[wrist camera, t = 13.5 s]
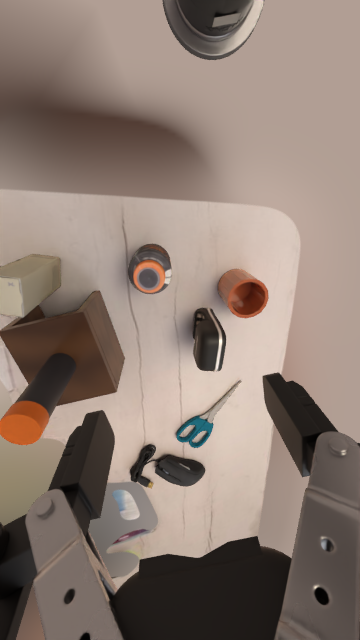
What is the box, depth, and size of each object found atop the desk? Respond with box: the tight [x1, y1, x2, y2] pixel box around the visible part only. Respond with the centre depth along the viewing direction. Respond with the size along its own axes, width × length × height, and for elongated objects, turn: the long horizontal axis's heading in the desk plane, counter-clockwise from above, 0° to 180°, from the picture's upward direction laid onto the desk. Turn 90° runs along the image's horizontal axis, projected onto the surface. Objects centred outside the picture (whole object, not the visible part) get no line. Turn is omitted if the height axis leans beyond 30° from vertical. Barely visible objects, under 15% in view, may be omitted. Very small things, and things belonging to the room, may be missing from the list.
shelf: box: [0, 291, 125, 406], centre depth 41 cm, size 14×12×10 cm
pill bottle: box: [128, 244, 172, 294], centre depth 36 cm, size 6×6×11 cm
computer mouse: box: [130, 445, 205, 488], centre depth 60 cm, size 12×18×4 cm
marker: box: [0, 353, 76, 445], centre depth 31 cm, size 4×4×12 cm
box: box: [0, 254, 61, 318], centre depth 35 cm, size 5×4×13 cm
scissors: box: [177, 380, 241, 448], centre depth 55 cm, size 7×1×20 cm
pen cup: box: [218, 269, 268, 318], centre depth 41 cm, size 6×6×7 cm
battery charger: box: [193, 308, 226, 372], centre depth 42 cm, size 7×4×11 cm, turn 175°
